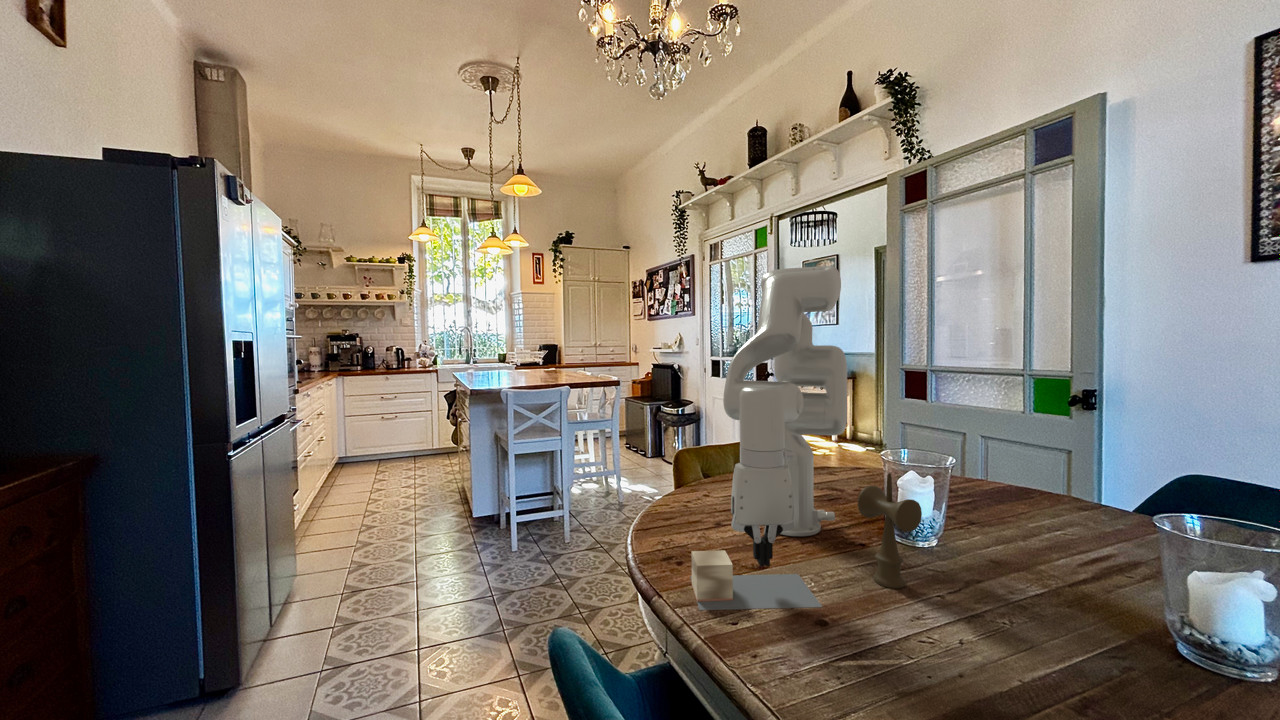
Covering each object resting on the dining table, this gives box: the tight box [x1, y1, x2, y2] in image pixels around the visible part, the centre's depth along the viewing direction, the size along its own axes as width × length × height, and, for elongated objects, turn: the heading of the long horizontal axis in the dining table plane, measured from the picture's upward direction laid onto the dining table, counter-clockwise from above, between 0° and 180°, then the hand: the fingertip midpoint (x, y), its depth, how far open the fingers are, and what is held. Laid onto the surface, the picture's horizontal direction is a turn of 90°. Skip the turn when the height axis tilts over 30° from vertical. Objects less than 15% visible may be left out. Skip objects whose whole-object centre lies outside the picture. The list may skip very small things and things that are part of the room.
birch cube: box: [691, 549, 734, 602], centre depth 89 cm, size 6×6×6 cm
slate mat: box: [689, 573, 823, 611], centre depth 89 cm, size 20×12×1 cm, turn 92°
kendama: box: [857, 472, 923, 589], centre depth 92 cm, size 6×10×20 cm, turn 20°
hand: (762, 562), depth 89 cm, fingers closed
